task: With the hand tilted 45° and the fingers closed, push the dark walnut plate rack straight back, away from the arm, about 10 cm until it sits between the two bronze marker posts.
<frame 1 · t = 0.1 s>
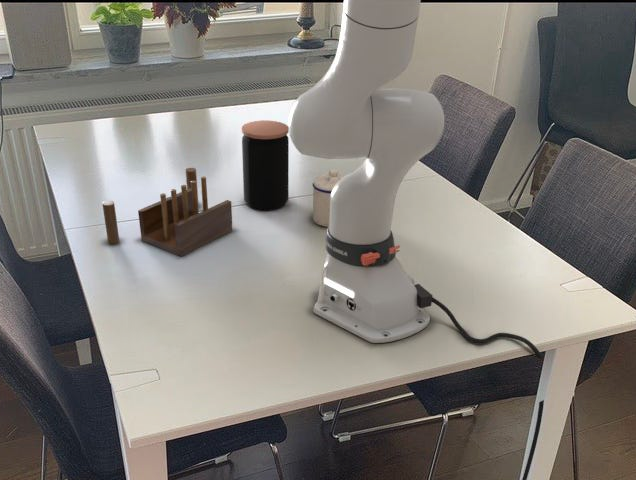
marker posts: (155, 223, 171), on the table
coffee jar: (266, 203, 181), on the table
plate rack: (187, 235, 166), on the table
teacup with lid: (330, 218, 175), on the table
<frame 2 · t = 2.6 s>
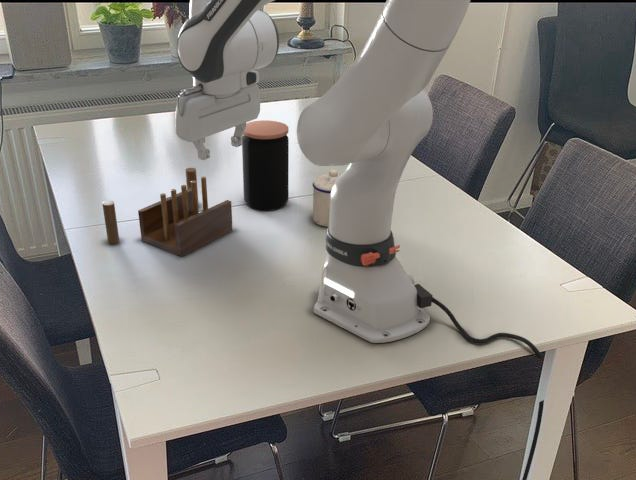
hand: (220, 152, 149), 21 cm above the table, tool pointing down, fingers open, 8 cm apart
nothing on the table moved.
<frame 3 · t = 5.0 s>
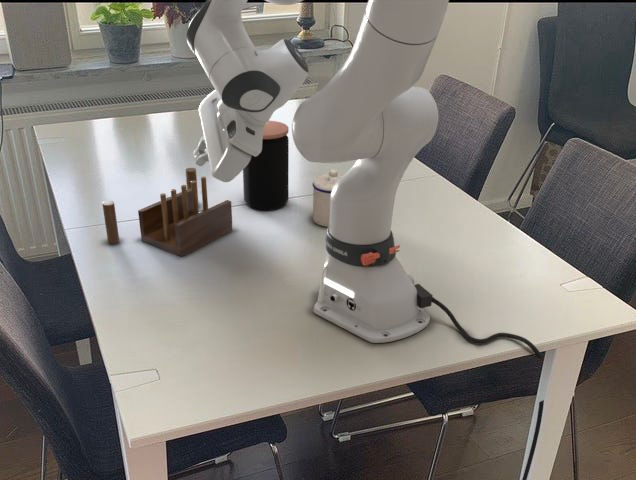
hand: (196, 159, 150), 19 cm above the table, tool tilted 45°, fingers closed
nothing on the table moved.
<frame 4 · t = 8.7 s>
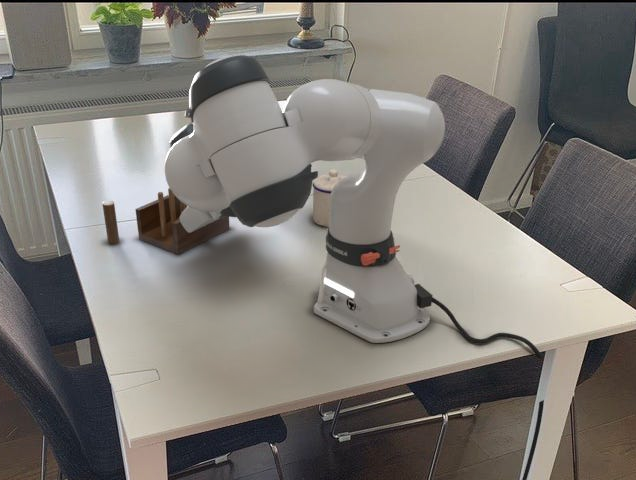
hand: (205, 221, 160), 5 cm above the table, tool tilted 45°, fingers closed, pressing on plate rack
plate rack: (185, 234, 166), on the table, touching gripper
everything else where it was.
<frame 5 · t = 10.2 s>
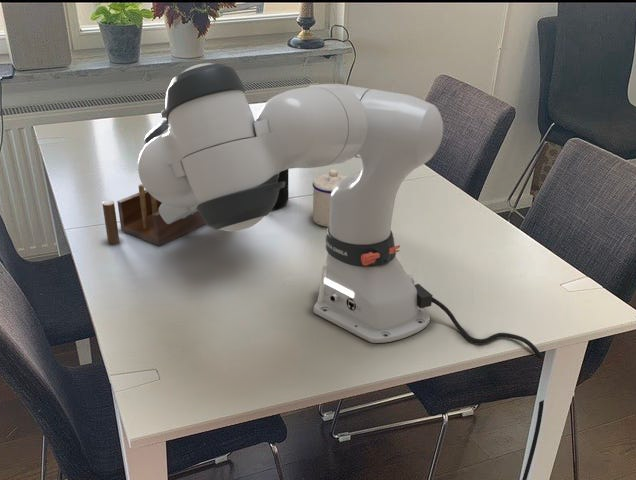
hand: (185, 213, 163), 5 cm above the table, tool tilted 45°, fingers closed, pressing on plate rack
plate rack: (166, 226, 170), on the table, touching gripper
everything else where it was.
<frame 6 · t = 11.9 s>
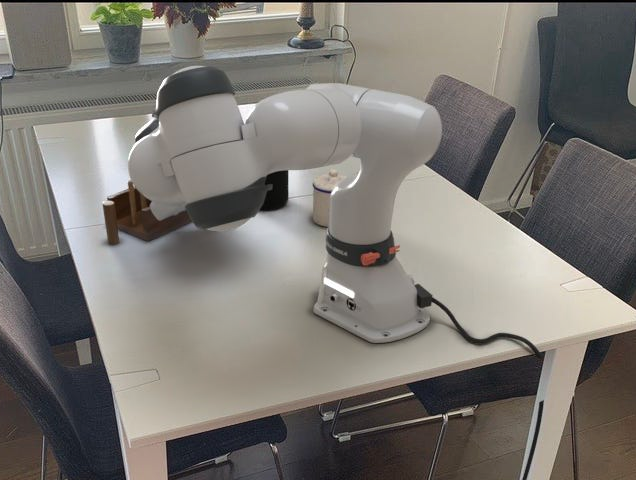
hand: (177, 210, 165), 5 cm above the table, tool tilted 45°, fingers closed
plate rack: (156, 222, 171), on the table
everything else where it was.
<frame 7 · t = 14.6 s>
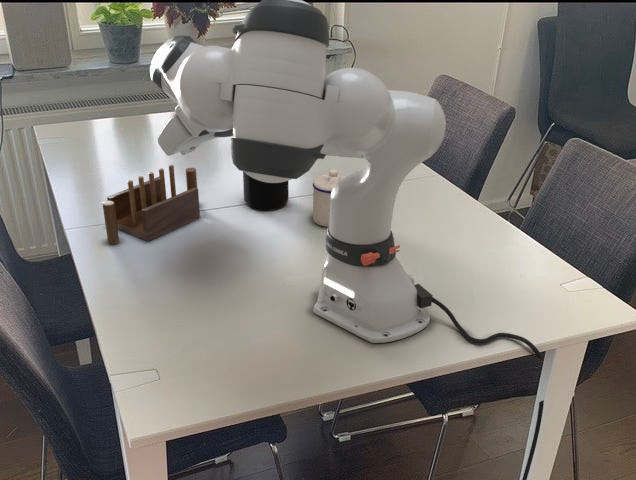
hand: (185, 150, 153), 20 cm above the table, tool tilted 45°, fingers closed
nothing on the table moved.
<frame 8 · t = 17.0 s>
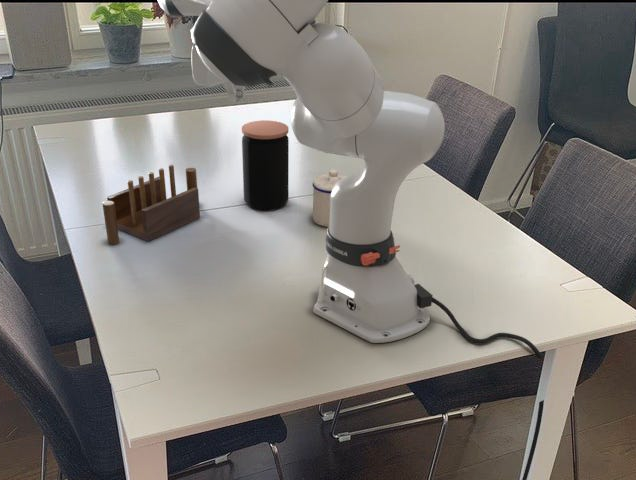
hand: (236, 100, 150), 29 cm above the table, tool pointing down, fingers closed
nothing on the table moved.
at the end: plate rack 0.8 cm from the target spot, on the table; plate rack moved 10.5 cm from its start; plate rack tilted 0° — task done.
